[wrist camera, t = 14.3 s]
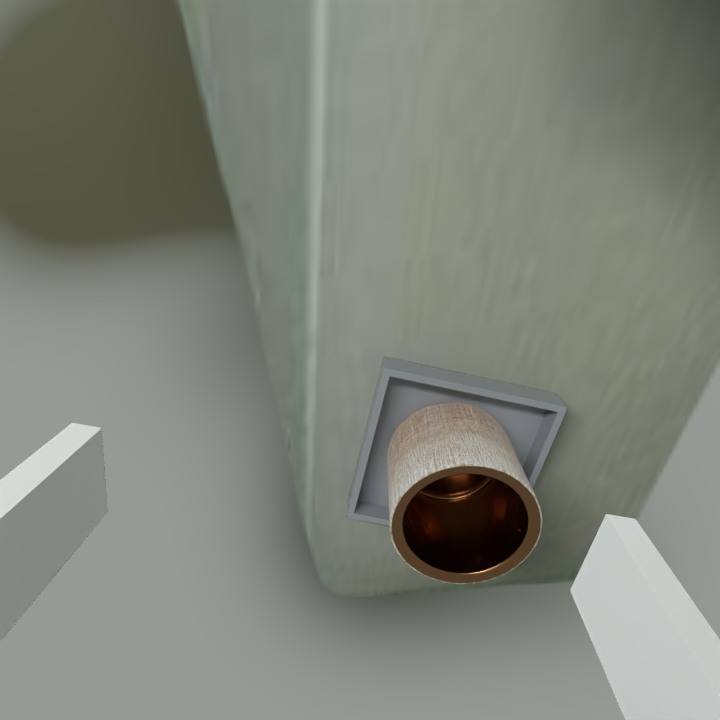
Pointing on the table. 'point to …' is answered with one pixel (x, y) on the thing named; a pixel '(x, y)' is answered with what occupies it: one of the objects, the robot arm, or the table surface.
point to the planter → (459, 496)
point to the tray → (434, 385)
